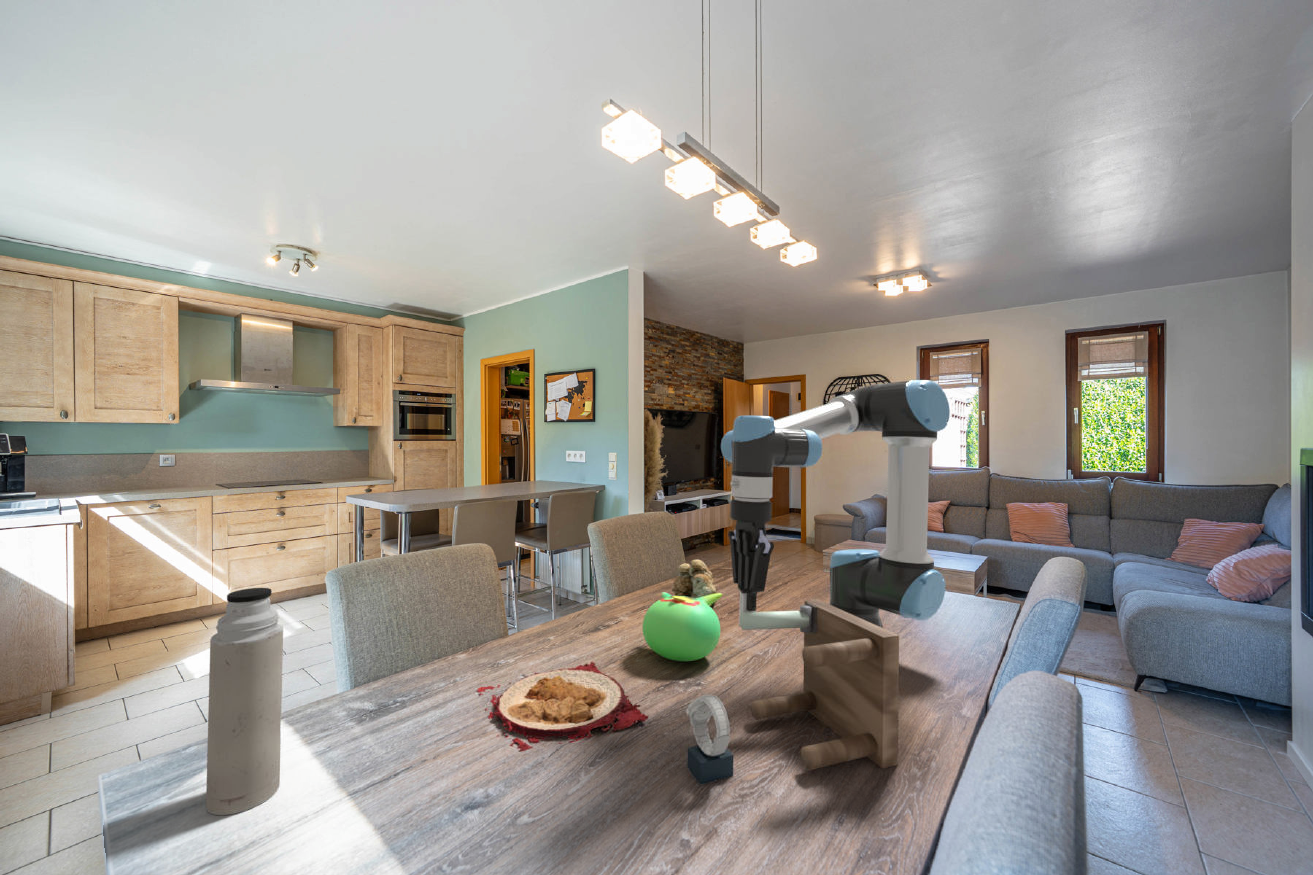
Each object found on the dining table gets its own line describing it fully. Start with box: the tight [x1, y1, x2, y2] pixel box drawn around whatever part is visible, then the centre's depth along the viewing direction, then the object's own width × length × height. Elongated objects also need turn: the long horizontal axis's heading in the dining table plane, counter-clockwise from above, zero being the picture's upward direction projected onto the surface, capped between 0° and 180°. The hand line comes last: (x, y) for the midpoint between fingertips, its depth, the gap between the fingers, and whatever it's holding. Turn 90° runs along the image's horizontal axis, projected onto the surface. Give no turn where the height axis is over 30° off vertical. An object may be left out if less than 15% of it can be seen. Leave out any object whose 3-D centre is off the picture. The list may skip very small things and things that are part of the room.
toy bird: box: [642, 591, 723, 662], centre depth 123 cm, size 18×17×15 cm
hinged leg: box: [740, 605, 812, 634], centre depth 97 cm, size 13×3×4 cm, turn 98°
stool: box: [749, 599, 900, 771], centre depth 89 cm, size 15×20×20 cm
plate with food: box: [477, 661, 649, 753], centre depth 99 cm, size 25×26×4 cm
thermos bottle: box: [205, 587, 284, 816], centre depth 73 cm, size 8×8×28 cm
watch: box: [685, 694, 734, 786], centre depth 80 cm, size 6×8×11 cm
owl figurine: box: [671, 559, 721, 623], centre depth 148 cm, size 18×12×17 cm, turn 34°
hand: (747, 626), depth 98 cm, fingers closed
